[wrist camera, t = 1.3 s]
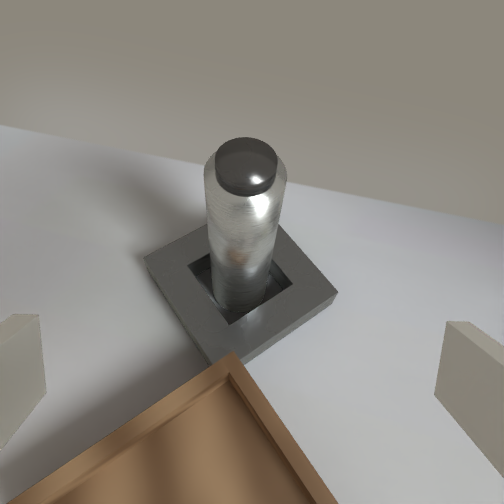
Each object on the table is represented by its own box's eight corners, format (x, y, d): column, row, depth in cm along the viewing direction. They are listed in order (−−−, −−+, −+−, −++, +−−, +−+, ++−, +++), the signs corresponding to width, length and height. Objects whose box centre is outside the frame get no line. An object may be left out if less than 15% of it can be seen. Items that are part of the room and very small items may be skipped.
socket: (254, 214, 36) (255, 198, 34) (331, 304, 32) (338, 291, 30) (148, 271, 33) (143, 257, 31) (219, 382, 28) (218, 374, 26)
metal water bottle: (245, 256, 34) (256, 118, 21) (275, 294, 32) (307, 169, 20) (202, 281, 33) (186, 149, 20) (231, 322, 31) (234, 207, 18)
